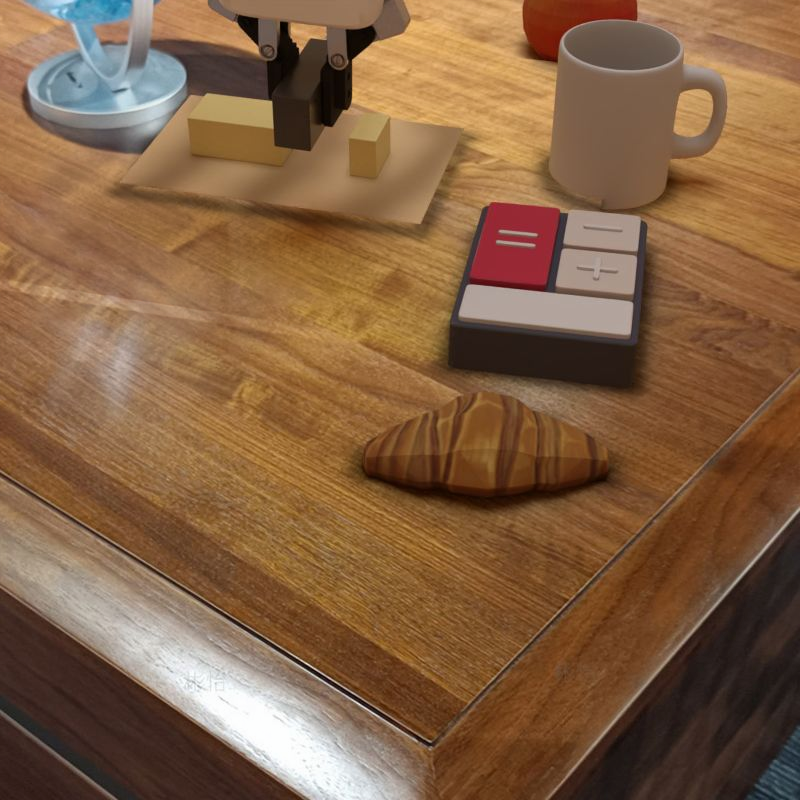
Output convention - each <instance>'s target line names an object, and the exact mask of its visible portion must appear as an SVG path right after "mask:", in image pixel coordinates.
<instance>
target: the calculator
mask: <svg viewBox="0 0 800 800" xmlns="http://www.w3.org/2000/svg"><path fill="white" fill-rule="evenodd" d="M641 218H642V217H640V216H639V215H633V214H621V213H614V212H603V211H602V212H601V211H594V210H593V211H592V210H584V209H583V210H581V209H570V210H569V211H568V212H561V208H558V207H552V206H551V207H550V206H542V205H532V204H531V205H530V204H522V203H521V204H520V203H511V202H510V203H509V202H500V201H491V202H489V205H485V206H484V207H483V208H482V209H481V213H480V214H479V219H478V223H477V226H476V229H475V232H474V233H475V234H474V236H473V240H472V244H471V247H470V251H469V254H468V257H467V260H466V265H465V267H464V271H463V275H462V278H461V282H460V284H459V288H458V291H457V295H456V298H455V302H454V306H453V309H452V313H451V316H450V320H449V331H448V351H447V352H448V357H447V364H448V366H449V367H450V368H452V369H456V370H463V371H473V372H482V373H490V374H500V375H507V376H515V377H525V378H533V379H541V380H542V379H543V380H550V381H559V382H568V383H576V384H585V385H593V386H601V387H602V386H603V387H611V388H618V389H629V388H631V387H632V386H633V382H634V381H633V380H634V375H635V367H636V361H637V354H638V353H637V352H638V347H639V346H638V345H639V335H640V323H641V312H642V311H641V310H642V301H643V300H642V298H643V287H644V275H645V261H646V249H647V240H648V239H647V238H648V223H647V221H645V220H642V219H641Z"/></svg>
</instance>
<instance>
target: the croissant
mask: <svg viewBox="0 0 800 800" xmlns="http://www.w3.org/2000/svg"><path fill="white" fill-rule="evenodd" d="M360 460H361V462H362V465H363V466H362V467H363V469H364V471H365V474H366V476H367V477H368V476H369V477H372V478H375V479H378V480H381V481H385V482H387V483H390V484H394V485H398V486H402V487H407V488H411V489H415V490H418V491H441V492H446V493H450V494H453V495H458V496H466V497H471V498H472V497H473V498H478V499H485V500H487V499H494V498H504V497H513V496H519V495H523V494H527V493H531V492H539V493H540V492H542V493H554V492H558V491H561V490H567V489H572V488H576V487H580V486H584V485H587V484H590V483H594V482H597V481H601V480H604V479H606V477H607V475H608V472H609V470H610V466H611V460H610V455H609V451H608V449H607V447H606V445H605V444H604V443H602V442H601V441H599V440H597V439H596V438H594V437H593V436H591V435H589V434H588V433H586V432H585V431H583V430H582V429H580V428H578V427H575V426H573V425H570V424H568V423H566V422H564V421H561V420H559V419H557V418H554V417H552V416H550V415H548V414H545V413H543V412H539V411H536V410H534V409H531V408H530V407H529V406H528V405H526V404H525V403H524V402H522V401H521V400H520V399H519V398H517V397H515V396H511V395H506V394H502V393H497V392H493V391H487V390H486V391H479V392H475V393H468V394H463V395H457V396H456V397H454V398H453V399H451V400H450V401H448V403H446V404H445V405H443V406H442V407H440V408H438V409H435V410H432V411H429V412H425V413H422V414H420V415H418V416H416V417H413V418H410V419H408V420H406V421H403V422H401V423H399V424H396V425H394V426H391V427H390V428H388V429H386V430H384V431H382V432H381V433H379V434H378V435H376V436H375V437H373V438H371V439H369V440H368V441H367V442H366V444H365V446H364V450H363V453H362V456H361V459H360Z"/></svg>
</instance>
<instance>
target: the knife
mask: <svg viewBox="0 0 800 800" xmlns="http://www.w3.org/2000/svg"><path fill="white" fill-rule="evenodd" d="M327 54H328V46H327V34H326V35H325V37H324V39H320V38H315V37H311V38H309V39H308V40H307V42H306V43H305V45H304V47H303V49H302V50H301V51H300V52H299V56H298V58H297V59H296V61H295V62H294V64H293V65H292V67H291V68H290V70H289V71H288V72H287V74H286V75H285V76H284V78H283V79H282V81H281V82H280V84H279V85H278V87H277V88H276V89H275V91H274V92H273V94H272V100H271V101H272V109H273V128H274V146H276V147H282V148H289V149H296V150H303V151H311V150H312V148H313V147H314V145H315V143H316V142H317V140H318V138H319V137H320V135H321V133H322V132H323V130H324V128H325V127H326V126H324V124H322V96H321V81H320V71H321V68H322V67H323V65H324V64H325V62H326V56H327Z"/></svg>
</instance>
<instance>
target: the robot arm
mask: <svg viewBox="0 0 800 800" xmlns="http://www.w3.org/2000/svg"><path fill="white" fill-rule="evenodd" d="M207 6H208V8H209V9H210V10H212V11H213V12H215V13H217V14H218V15H220V16H222V17H224V18H226V19H227V20H229V21H230V22H232V23H234V22H235V23H236V24H237V25H238V26H239V28H240V29H241V30H242V32H243V33H245V35H246V36H248V38H249V39H250V40H251V41H252V42H253V43H254V44H255V46H257V47H258V53H259V56H260V57H261V58H262V59H263V60H265V61H266V77H267V78H266V79H267V96H268V100H269V101H272V94H273V92H274V91H275V89H276V88H277V87H278V85H279V84H280V82H281V81H282V79H283V78H284V76H285V75H286V74H287V72H288V71H289V70H290V68H291V67H292V65H293V64H294V62H295V61H296V59H297V58H298V56H299V54H300V47H298V43H297V41H296V42H294V41H293V38H292V37H291V36H292V24H300V25H307V26H316V27H323V28H325V29H326V35H327V46H328V54H327V56H326V62H325V64H324V65H323V67H322V68H321V71H320V81H321V96H322V124H324V126H326V127H333V126H334V124H335V123H336V121H337V120H338V118H339V116H340V115H341V113H343V112H344V111H348V110H349V109H350V107H351V106H352V101H353V60H354V59H356V57H358V56H359V55H360V54H361V53H363V52H364V51H365V50H366V49H367V48H368V47H370V46H371V45H372V44H373V43H377V42H382V41H385V40H387V39H391V38H393V37H397V36H400V35H402V34H404V33H405V32H406V30H407V28H408V27H409V25H410V24H411V18H412V17H411V15H410V13H409V10H408V8H407V6H406V4H405V1H404V0H207Z"/></svg>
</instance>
